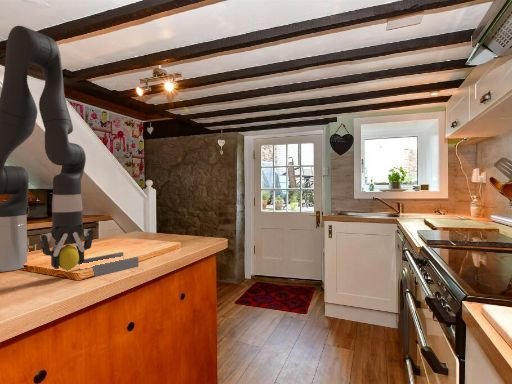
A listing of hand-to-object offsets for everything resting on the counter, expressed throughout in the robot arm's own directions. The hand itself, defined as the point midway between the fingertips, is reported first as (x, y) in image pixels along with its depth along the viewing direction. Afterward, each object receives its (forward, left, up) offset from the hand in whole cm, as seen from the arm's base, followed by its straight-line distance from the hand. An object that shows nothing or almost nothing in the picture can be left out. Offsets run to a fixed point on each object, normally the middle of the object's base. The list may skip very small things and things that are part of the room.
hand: (68, 265), depth 87 cm
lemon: (0, 0, -2) cm, 2 cm away
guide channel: (0, +12, -3) cm, 13 cm away
